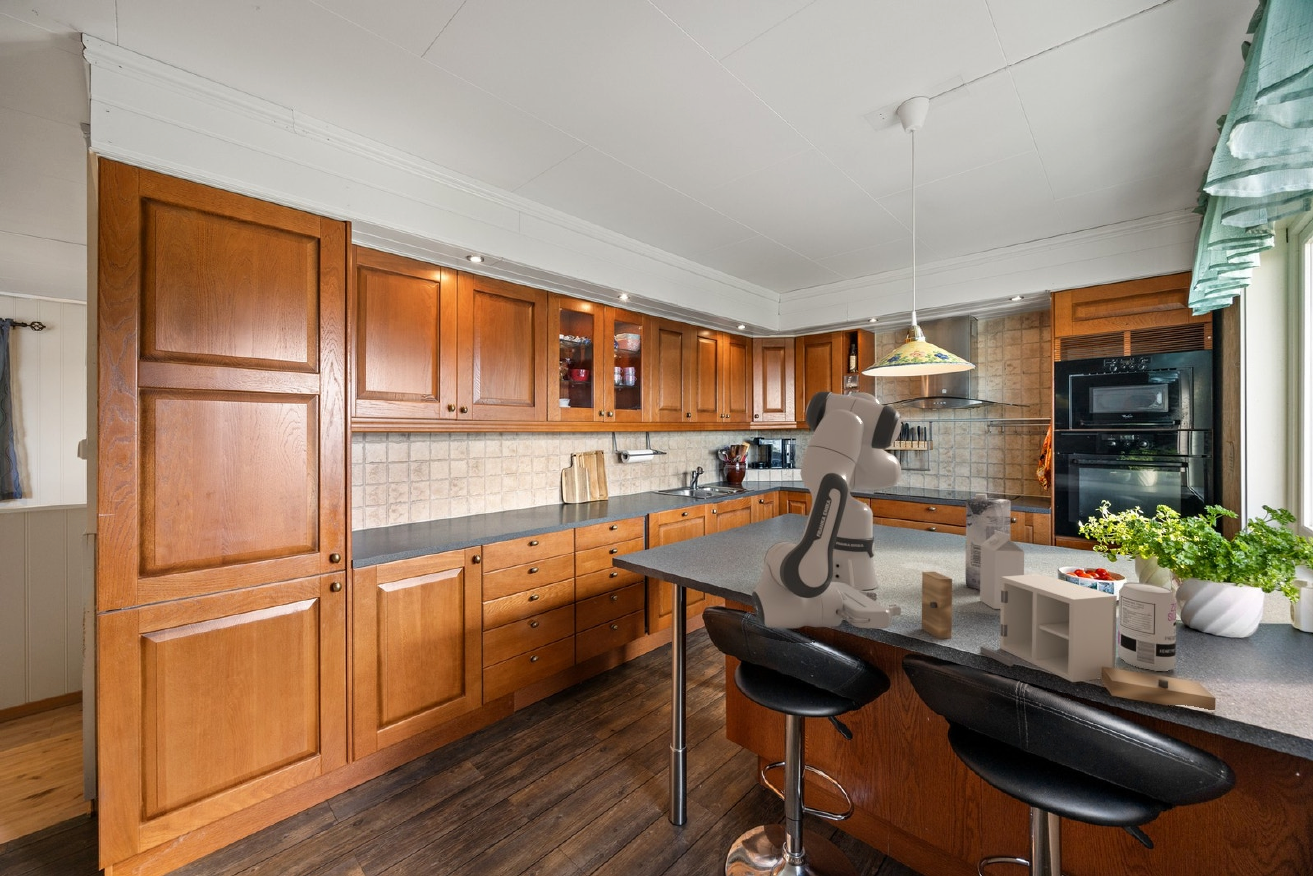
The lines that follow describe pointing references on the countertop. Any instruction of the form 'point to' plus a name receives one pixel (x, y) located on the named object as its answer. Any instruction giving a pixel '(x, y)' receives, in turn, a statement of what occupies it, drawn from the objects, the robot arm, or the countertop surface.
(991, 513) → the juice carton
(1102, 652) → the carcass
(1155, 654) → the supplement can
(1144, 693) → the door
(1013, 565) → the milk carton
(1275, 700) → the countertop surface
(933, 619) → the oak door
